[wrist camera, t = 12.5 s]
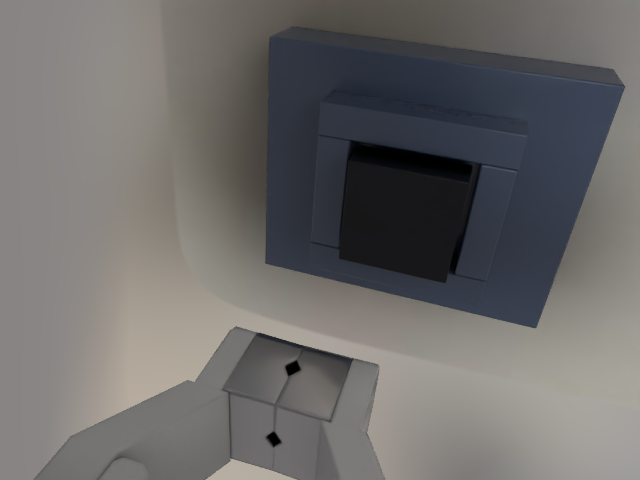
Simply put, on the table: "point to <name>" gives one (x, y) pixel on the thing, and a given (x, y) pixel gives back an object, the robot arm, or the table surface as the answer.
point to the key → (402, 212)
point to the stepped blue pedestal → (439, 143)
